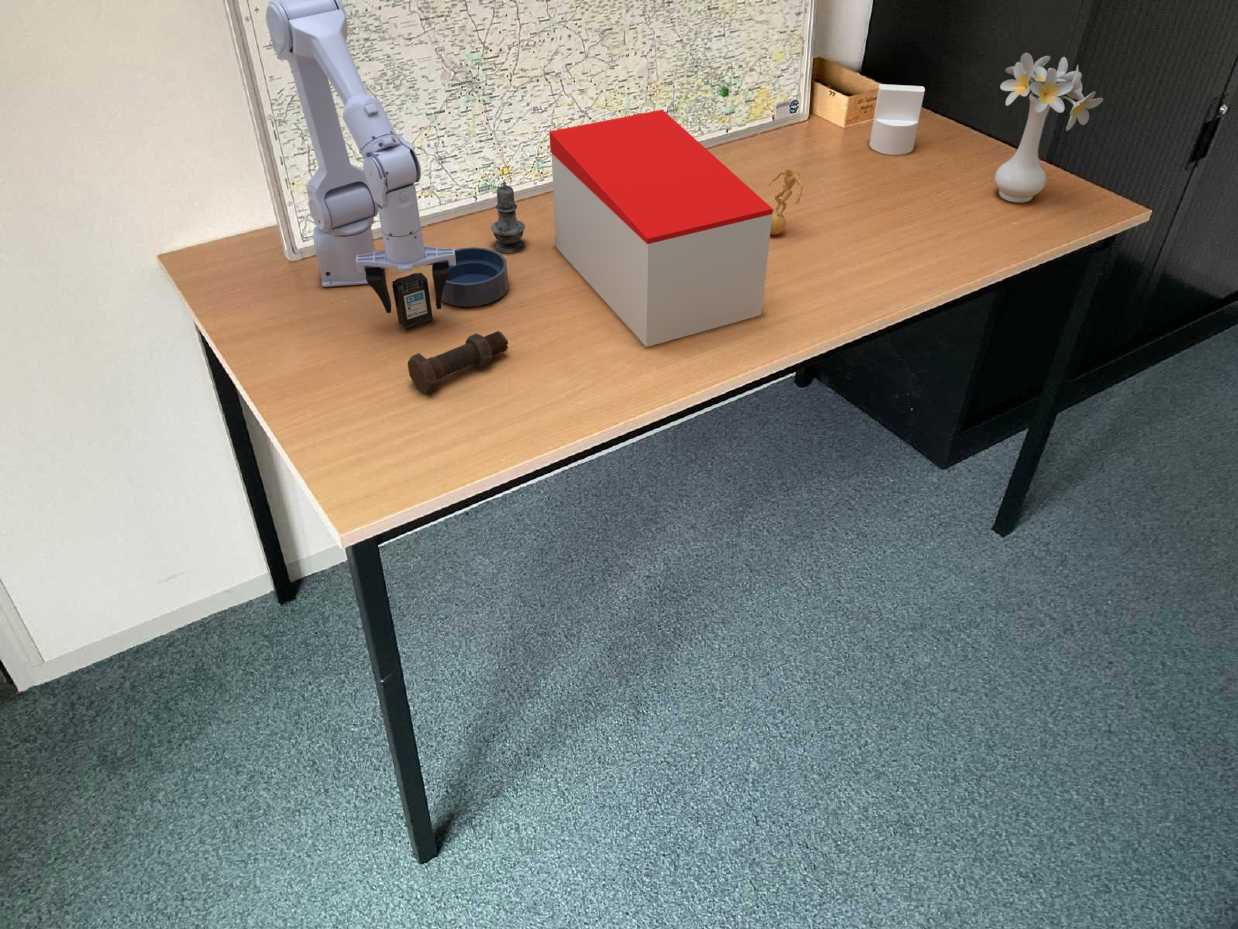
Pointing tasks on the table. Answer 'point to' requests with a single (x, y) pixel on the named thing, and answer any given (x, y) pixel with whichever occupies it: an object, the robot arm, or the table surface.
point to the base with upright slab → (896, 118)
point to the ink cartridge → (412, 300)
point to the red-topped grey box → (658, 226)
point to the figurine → (784, 198)
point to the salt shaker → (507, 222)
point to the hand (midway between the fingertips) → (414, 307)
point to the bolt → (455, 360)
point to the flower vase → (1038, 121)
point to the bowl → (476, 277)
